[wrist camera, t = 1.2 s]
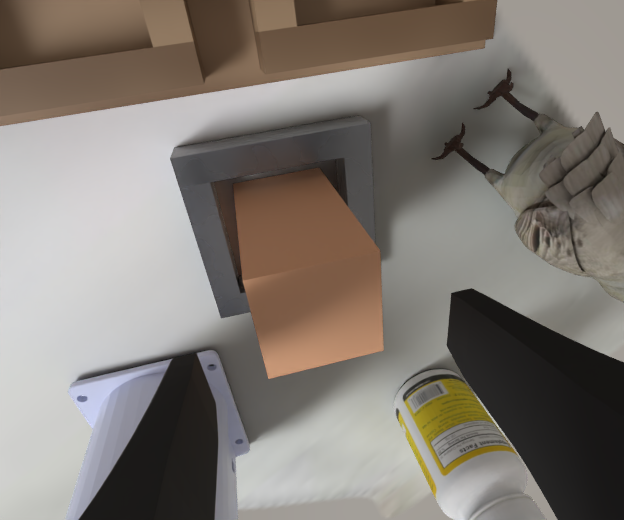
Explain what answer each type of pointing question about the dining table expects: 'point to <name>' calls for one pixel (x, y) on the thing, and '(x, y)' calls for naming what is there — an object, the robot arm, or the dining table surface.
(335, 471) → the dining table surface
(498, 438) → the supplement bottle
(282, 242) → the peg
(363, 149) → the socket
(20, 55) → the rack
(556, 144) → the decorative bird
